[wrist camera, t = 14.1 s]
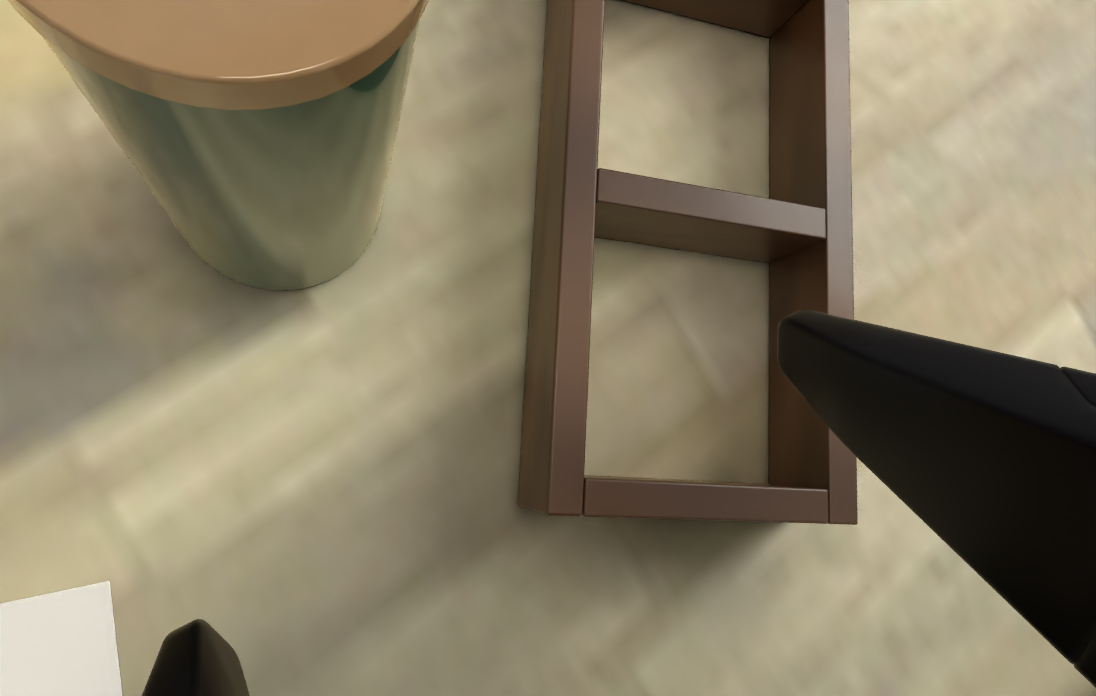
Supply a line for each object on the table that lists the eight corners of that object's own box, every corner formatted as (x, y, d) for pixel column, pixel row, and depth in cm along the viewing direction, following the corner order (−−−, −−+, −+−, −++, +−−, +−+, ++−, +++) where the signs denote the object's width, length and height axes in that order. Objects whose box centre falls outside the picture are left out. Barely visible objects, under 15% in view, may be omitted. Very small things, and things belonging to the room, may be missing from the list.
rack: (794, 515, 23) (858, 524, 21) (517, 506, 21) (546, 515, 18) (792, 20, 26) (848, -32, 23) (549, -45, 24) (578, -113, 21)
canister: (391, 291, 20) (464, 94, 9) (170, 297, 19) (-80, 65, 7) (377, 103, 21) (430, -298, 10) (163, 93, 19) (-77, -412, 8)
